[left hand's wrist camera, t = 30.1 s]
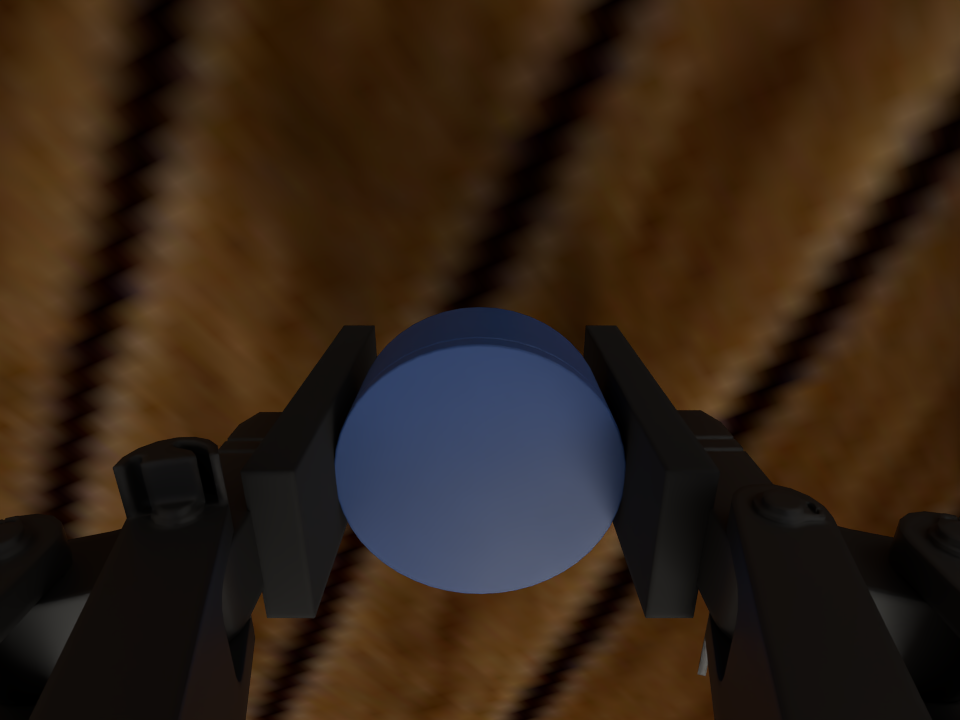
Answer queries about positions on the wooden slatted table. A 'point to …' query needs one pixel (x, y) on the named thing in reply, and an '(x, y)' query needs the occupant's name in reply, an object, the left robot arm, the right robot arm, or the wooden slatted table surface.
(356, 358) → the left robot arm
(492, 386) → the lid
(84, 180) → the wooden slatted table surface
